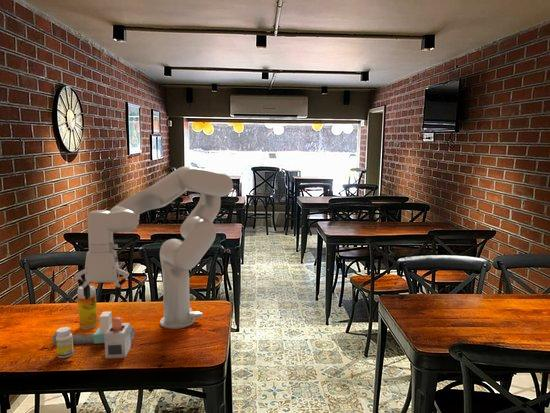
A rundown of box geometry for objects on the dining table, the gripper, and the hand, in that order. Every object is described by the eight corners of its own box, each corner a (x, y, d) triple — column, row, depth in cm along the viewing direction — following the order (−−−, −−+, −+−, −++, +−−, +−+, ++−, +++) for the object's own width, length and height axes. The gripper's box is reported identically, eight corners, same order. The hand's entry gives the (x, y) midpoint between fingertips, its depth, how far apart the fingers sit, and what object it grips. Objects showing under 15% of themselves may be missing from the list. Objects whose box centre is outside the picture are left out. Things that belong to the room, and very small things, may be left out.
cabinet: (131, 345, 144) (129, 322, 143) (125, 357, 136) (123, 333, 135) (112, 346, 143) (111, 323, 142) (105, 358, 135) (103, 334, 134)
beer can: (91, 330, 156) (88, 290, 154) (76, 329, 157) (73, 289, 155) (101, 323, 162) (98, 284, 160) (86, 322, 163) (84, 283, 161)
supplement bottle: (60, 351, 140) (58, 326, 139) (75, 350, 141) (74, 325, 140) (54, 358, 136) (52, 332, 134) (70, 357, 136) (68, 332, 135)
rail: (134, 336, 151) (133, 326, 151) (131, 342, 146) (130, 332, 146) (59, 339, 149) (58, 329, 148) (53, 346, 144) (52, 335, 143)
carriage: (119, 335, 151) (118, 310, 150) (115, 342, 146) (114, 316, 144) (98, 336, 150) (97, 311, 149) (93, 343, 145) (92, 317, 144)
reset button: (123, 328, 140) (122, 316, 140) (121, 332, 137) (120, 320, 137) (113, 328, 140) (113, 316, 139) (111, 332, 137) (110, 320, 136)
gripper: (130, 245, 148) (131, 294, 150) (77, 245, 146) (79, 294, 148) (125, 250, 141) (126, 301, 143) (69, 250, 139) (71, 302, 141)
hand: (102, 298), depth 145 cm, fingers open, 9 cm apart
